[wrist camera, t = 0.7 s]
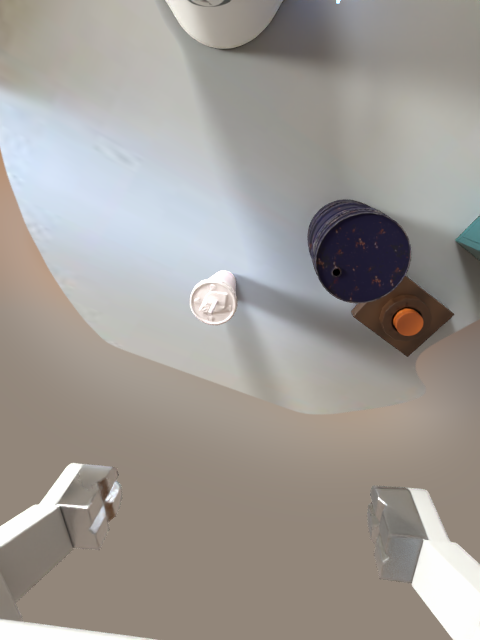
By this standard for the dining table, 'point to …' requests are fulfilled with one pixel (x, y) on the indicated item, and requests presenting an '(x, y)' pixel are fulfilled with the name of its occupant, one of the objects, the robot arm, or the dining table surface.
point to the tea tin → (471, 239)
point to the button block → (403, 296)
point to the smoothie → (215, 298)
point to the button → (408, 322)
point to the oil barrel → (357, 251)
